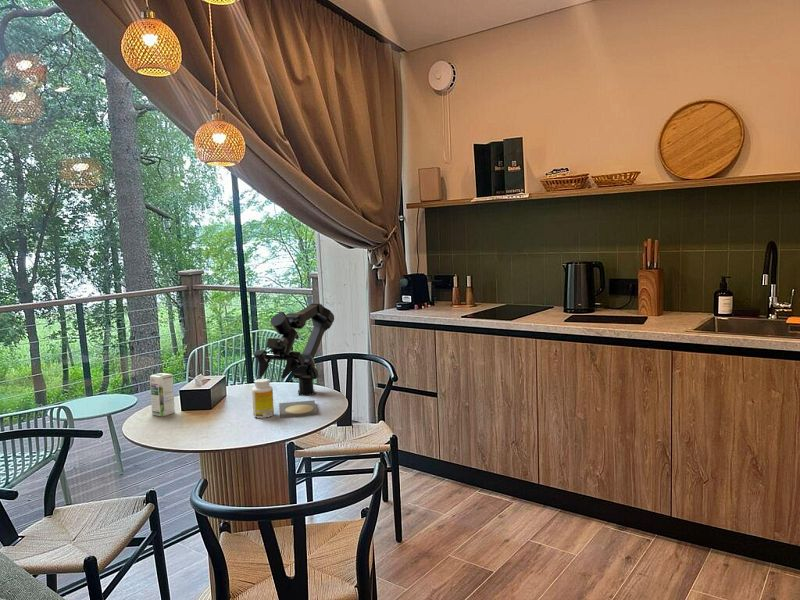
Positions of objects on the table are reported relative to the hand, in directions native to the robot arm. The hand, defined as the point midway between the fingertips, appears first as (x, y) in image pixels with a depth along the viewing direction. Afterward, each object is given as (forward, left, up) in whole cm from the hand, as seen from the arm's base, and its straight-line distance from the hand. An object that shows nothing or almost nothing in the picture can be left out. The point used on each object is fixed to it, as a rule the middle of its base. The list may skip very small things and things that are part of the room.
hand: (271, 377), depth 210 cm
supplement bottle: (+5, -3, -13) cm, 14 cm away
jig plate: (+2, +9, -12) cm, 15 cm away
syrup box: (-9, -39, -13) cm, 42 cm away
